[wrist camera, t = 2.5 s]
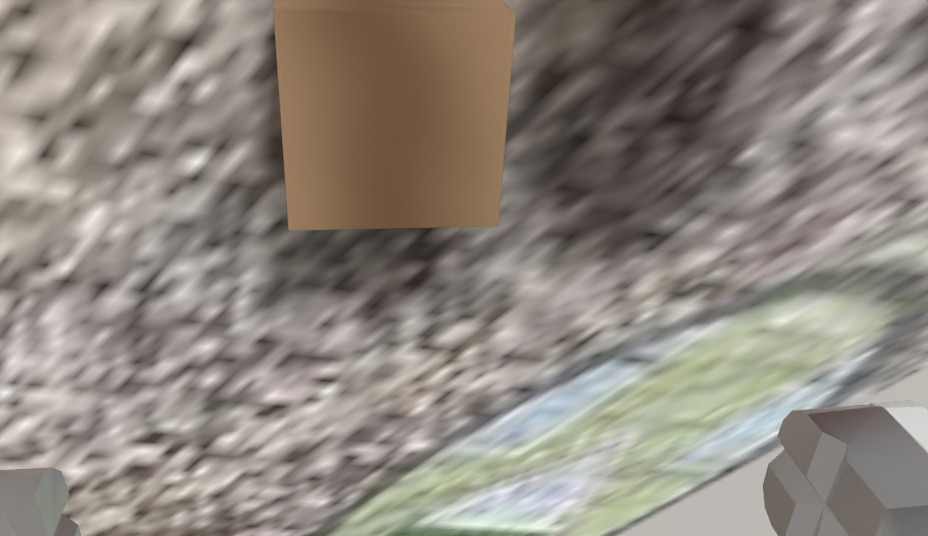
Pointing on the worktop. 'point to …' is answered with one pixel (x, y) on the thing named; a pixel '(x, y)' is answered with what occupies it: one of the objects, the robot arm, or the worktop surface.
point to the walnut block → (393, 111)
